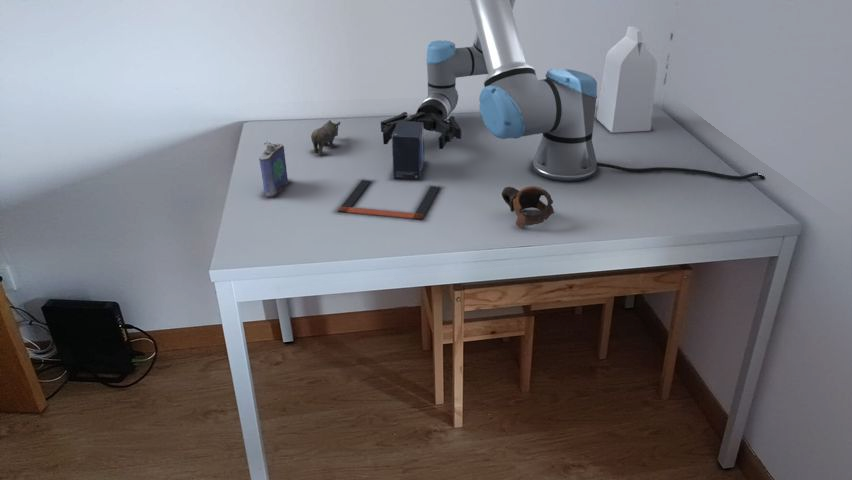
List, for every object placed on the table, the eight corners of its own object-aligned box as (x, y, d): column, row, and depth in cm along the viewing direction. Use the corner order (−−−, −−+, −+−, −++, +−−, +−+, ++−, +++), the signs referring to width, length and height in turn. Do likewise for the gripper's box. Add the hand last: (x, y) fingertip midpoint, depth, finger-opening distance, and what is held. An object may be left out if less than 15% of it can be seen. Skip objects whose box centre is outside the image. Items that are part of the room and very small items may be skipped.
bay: (439, 188, 156) (439, 186, 156) (422, 219, 143) (422, 218, 142) (362, 181, 158) (362, 179, 158) (338, 211, 145) (337, 210, 144)
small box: (421, 180, 159) (419, 136, 154) (392, 179, 159) (390, 135, 154) (425, 162, 168) (424, 120, 163) (399, 161, 168) (396, 119, 163)
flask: (273, 198, 149) (266, 151, 143) (260, 197, 149) (252, 149, 144) (291, 181, 157) (284, 135, 151) (278, 180, 157) (271, 134, 152)
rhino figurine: (347, 137, 181) (345, 115, 178) (324, 156, 170) (321, 133, 166) (332, 135, 182) (330, 113, 178) (309, 154, 170) (306, 131, 167)
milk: (596, 118, 200) (606, 24, 186) (633, 116, 202) (645, 23, 188) (611, 132, 190) (623, 34, 176) (650, 130, 192) (665, 33, 179)
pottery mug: (559, 215, 147) (563, 192, 140) (538, 248, 143) (541, 227, 136) (509, 190, 150) (511, 167, 142) (487, 222, 146) (488, 200, 138)
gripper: (480, 130, 182) (464, 160, 164) (388, 122, 185) (362, 151, 167) (480, 102, 178) (464, 130, 160) (386, 95, 181) (360, 121, 163)
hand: (412, 141), depth 164 cm, fingers open, 13 cm apart
